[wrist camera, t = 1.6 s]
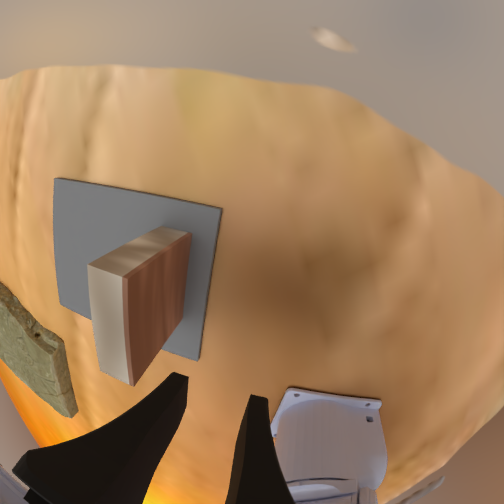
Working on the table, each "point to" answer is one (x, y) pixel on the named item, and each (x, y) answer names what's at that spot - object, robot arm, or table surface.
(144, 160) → the table surface
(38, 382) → the decorative tile
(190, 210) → the mat
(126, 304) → the slab
